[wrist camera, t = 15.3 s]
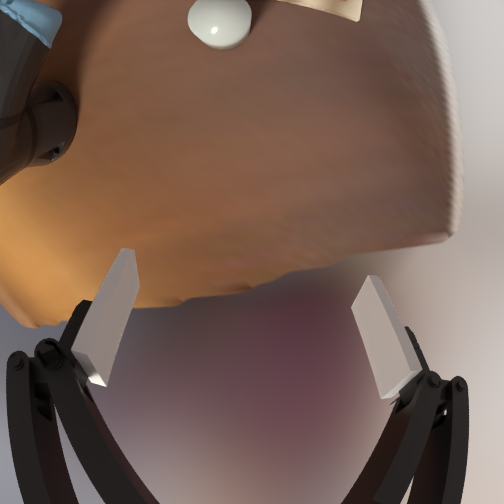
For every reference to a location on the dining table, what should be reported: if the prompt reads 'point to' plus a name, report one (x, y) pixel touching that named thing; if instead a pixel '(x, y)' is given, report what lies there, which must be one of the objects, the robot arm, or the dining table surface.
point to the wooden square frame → (334, 7)
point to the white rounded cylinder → (220, 22)
